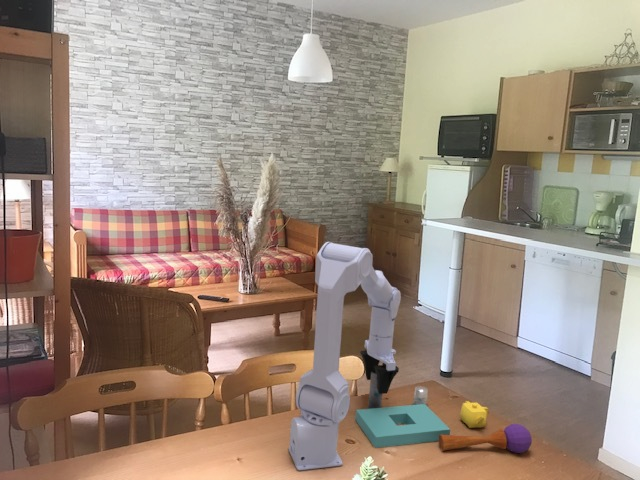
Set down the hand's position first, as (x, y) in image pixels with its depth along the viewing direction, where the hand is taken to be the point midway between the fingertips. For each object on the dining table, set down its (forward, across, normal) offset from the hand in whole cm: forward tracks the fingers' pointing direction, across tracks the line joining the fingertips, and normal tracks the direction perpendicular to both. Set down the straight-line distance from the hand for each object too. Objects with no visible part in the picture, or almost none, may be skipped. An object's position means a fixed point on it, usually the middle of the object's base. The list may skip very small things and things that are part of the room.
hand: (376, 385), depth 130 cm
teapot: (+6, -12, -21) cm, 25 cm away
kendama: (+6, -22, -17) cm, 28 cm away
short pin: (+6, -1, -12) cm, 13 cm away
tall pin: (+6, 0, 0) cm, 6 cm away
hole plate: (+6, -11, -2) cm, 13 cm away
